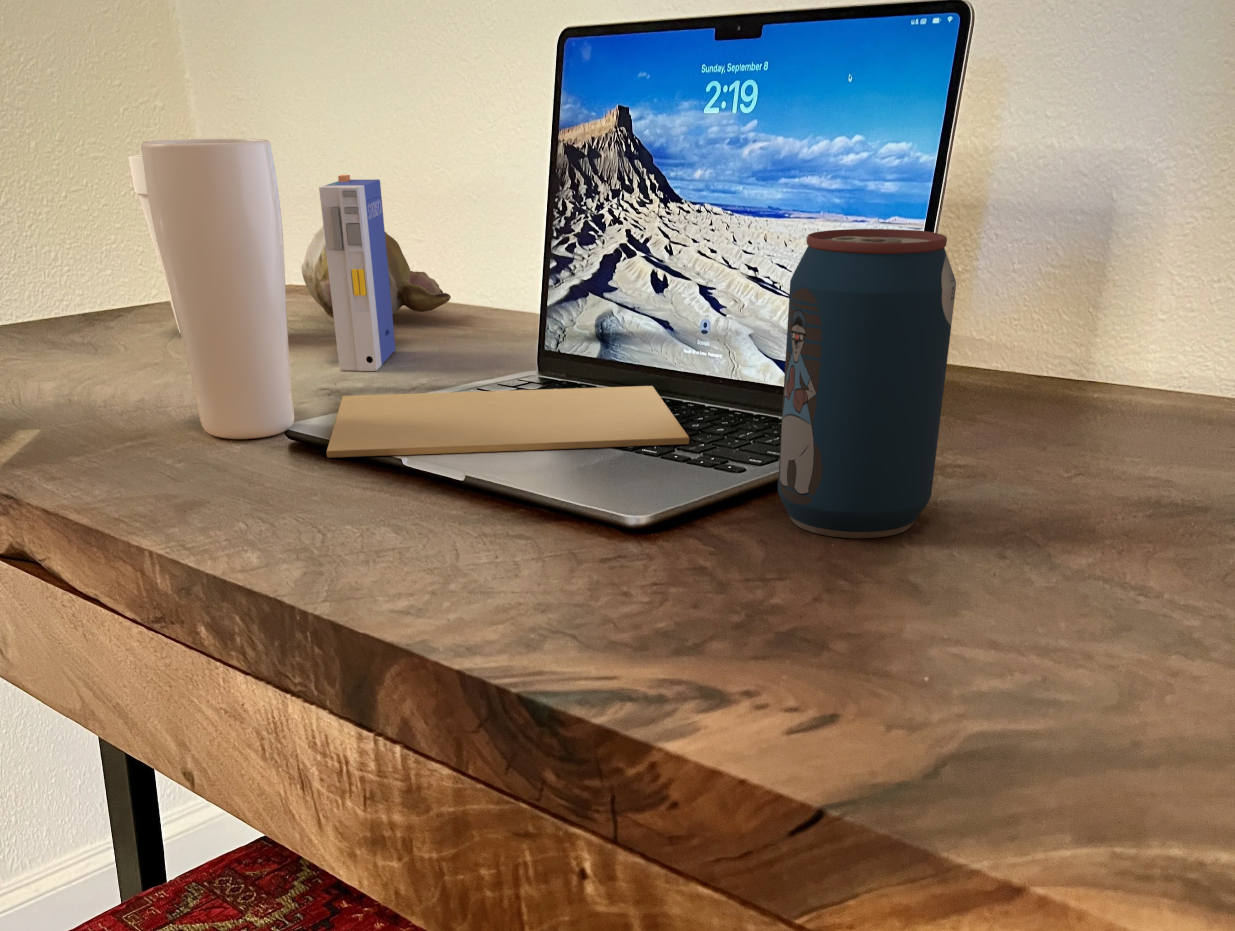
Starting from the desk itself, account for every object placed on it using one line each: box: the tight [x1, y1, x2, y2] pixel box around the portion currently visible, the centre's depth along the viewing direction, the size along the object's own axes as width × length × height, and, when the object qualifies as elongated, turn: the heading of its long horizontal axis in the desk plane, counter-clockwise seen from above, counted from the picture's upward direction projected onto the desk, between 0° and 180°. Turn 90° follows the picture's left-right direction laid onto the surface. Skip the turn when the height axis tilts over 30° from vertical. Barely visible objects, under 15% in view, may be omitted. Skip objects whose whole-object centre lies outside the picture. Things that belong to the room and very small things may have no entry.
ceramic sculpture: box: [300, 226, 452, 319], centre depth 107 cm, size 11×9×15 cm
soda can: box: [777, 228, 957, 539], centre depth 55 cm, size 7×7×12 cm
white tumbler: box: [140, 138, 295, 440], centre depth 70 cm, size 7×7×15 cm
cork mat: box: [326, 385, 690, 459], centre depth 76 cm, size 20×14×1 cm
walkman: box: [318, 174, 397, 372], centre depth 90 cm, size 8×3×12 cm, turn 179°
